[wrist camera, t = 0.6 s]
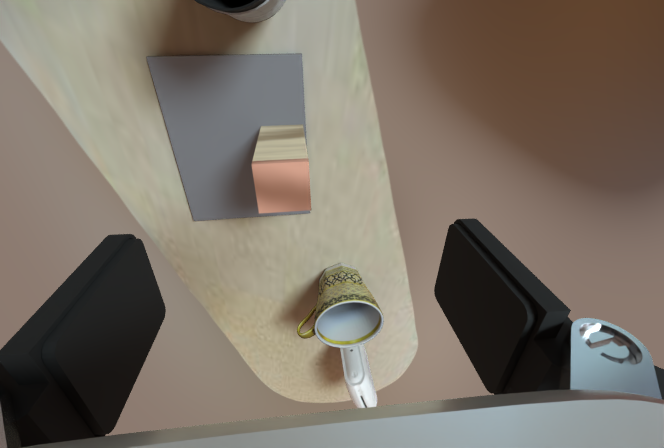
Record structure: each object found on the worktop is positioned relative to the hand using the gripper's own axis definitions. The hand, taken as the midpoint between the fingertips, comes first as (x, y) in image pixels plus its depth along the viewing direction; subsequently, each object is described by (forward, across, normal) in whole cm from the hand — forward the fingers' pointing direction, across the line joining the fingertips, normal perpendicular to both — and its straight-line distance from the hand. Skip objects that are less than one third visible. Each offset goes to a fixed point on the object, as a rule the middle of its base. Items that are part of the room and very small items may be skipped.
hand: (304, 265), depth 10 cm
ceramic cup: (+33, -5, +29) cm, 44 cm away
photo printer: (+34, -9, +46) cm, 58 cm away
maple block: (+31, +2, +5) cm, 32 cm away
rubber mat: (+32, +7, +5) cm, 33 cm away
